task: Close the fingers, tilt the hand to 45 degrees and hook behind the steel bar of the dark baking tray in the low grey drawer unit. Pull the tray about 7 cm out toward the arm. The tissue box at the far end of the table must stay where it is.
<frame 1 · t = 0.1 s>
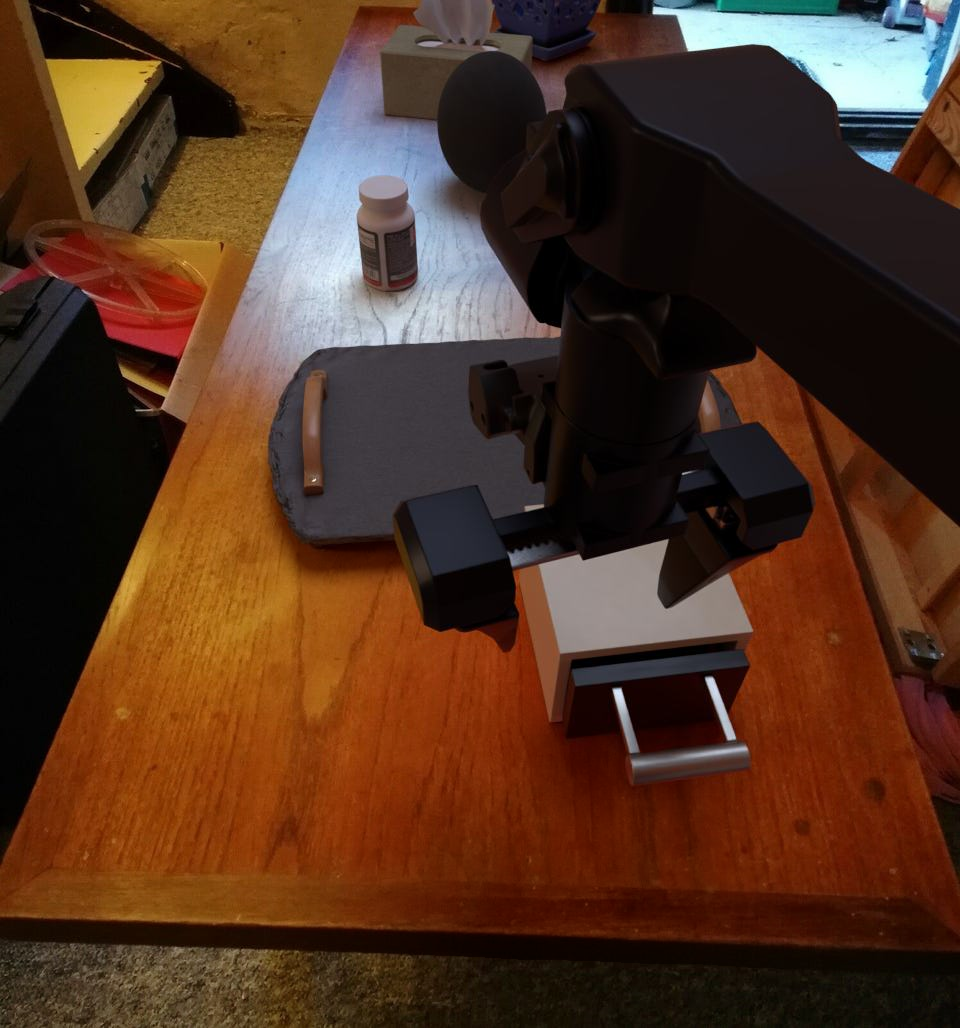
hand: (585, 622, 45), 12 cm above the table, tool pointing down, fingers open, 9 cm apart
flower pot: (543, 48, 132), on the table
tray: (644, 670, 53), point 4 cm above the table, slide at 0.5 cm
pill bottle: (390, 279, 89), on the table
bottle: (583, 231, 96), on the table
grey drawer unit: (615, 637, 59), on the table
tissue box: (458, 108, 117), on the table
serving tray: (506, 450, 72), on the table
decorative egg: (490, 190, 102), on the table
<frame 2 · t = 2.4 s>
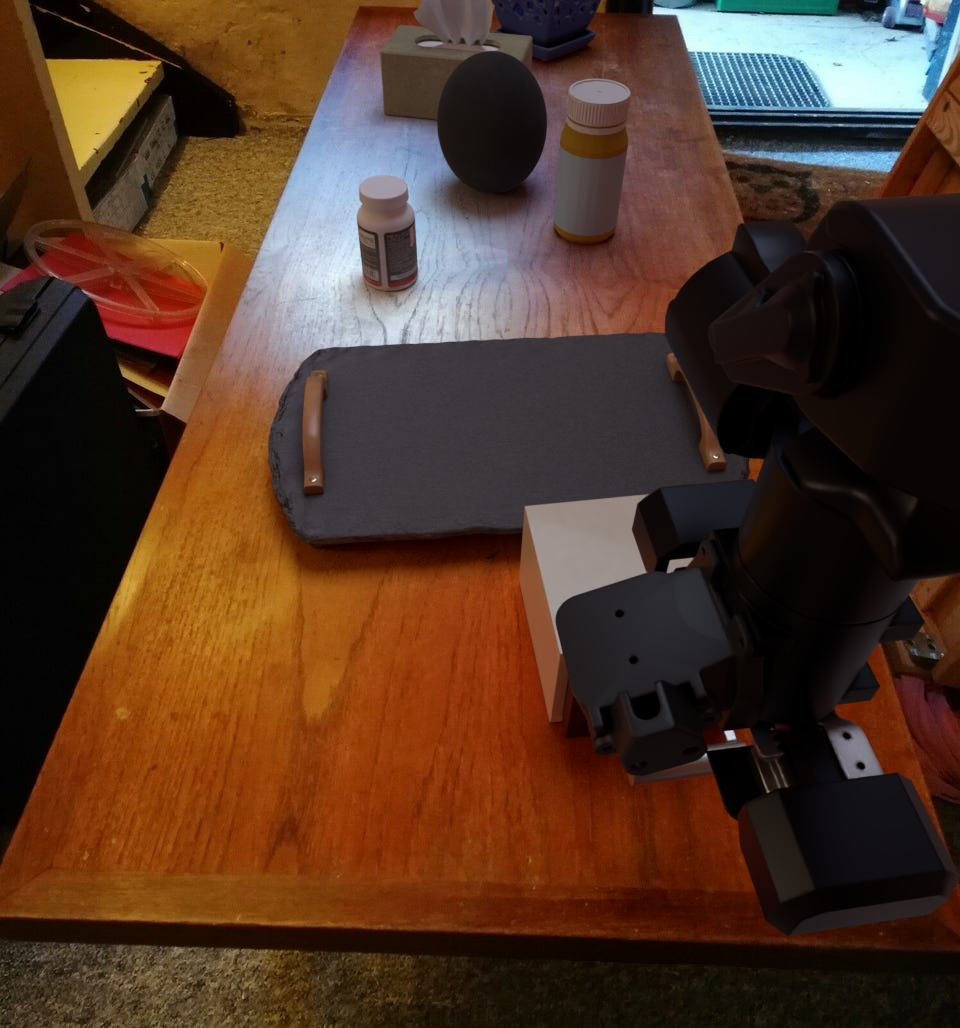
hand: (720, 764, 40), 12 cm above the table, tool pointing down, fingers open, 3 cm apart
nothing on the table moved.
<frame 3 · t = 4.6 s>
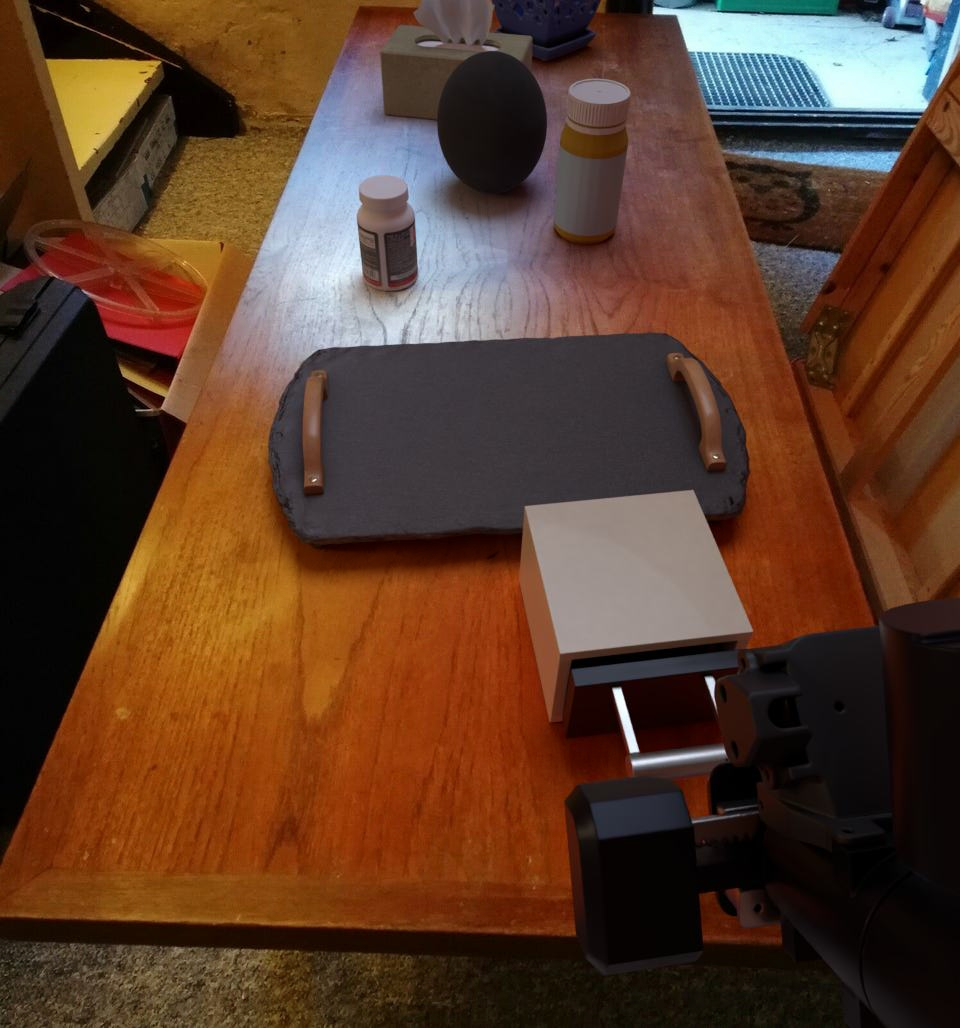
hand: (733, 767, 40), 13 cm above the table, tool tilted 45°, fingers closed
nothing on the table moved.
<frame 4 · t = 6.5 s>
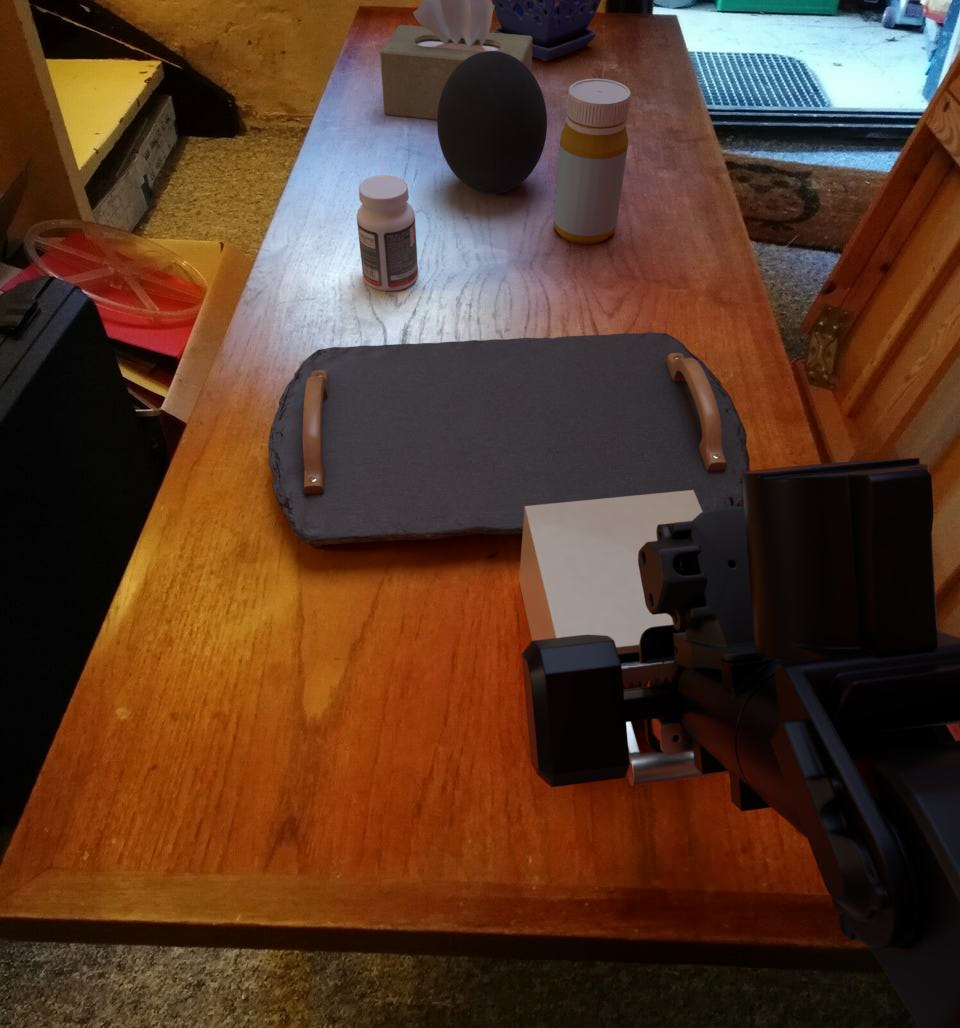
hand: (670, 652, 47), 10 cm above the table, tool tilted 45°, fingers closed
nothing on the table moved.
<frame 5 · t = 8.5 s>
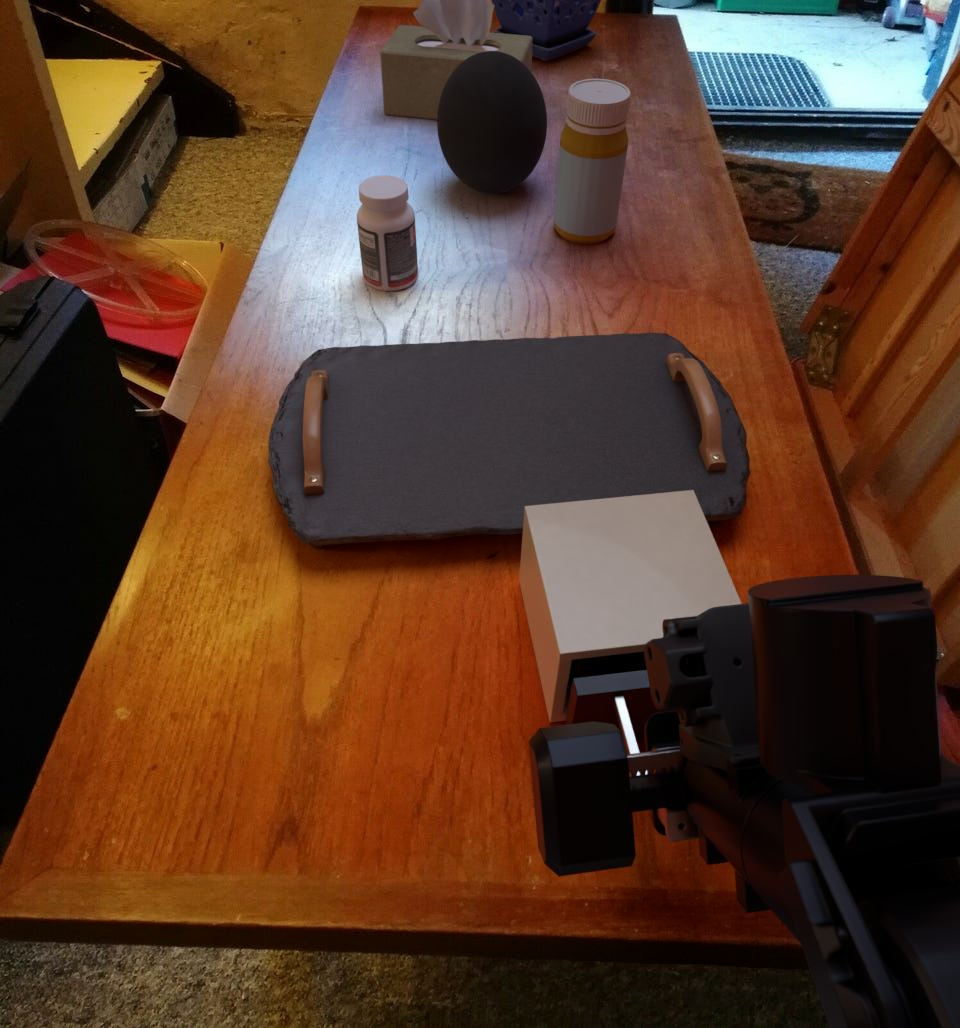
hand: (675, 724, 48), 7 cm above the table, tool tilted 45°, fingers closed
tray: (647, 678, 53), point 4 cm above the table, slide at 1.1 cm, touching gripper
everything else where it was.
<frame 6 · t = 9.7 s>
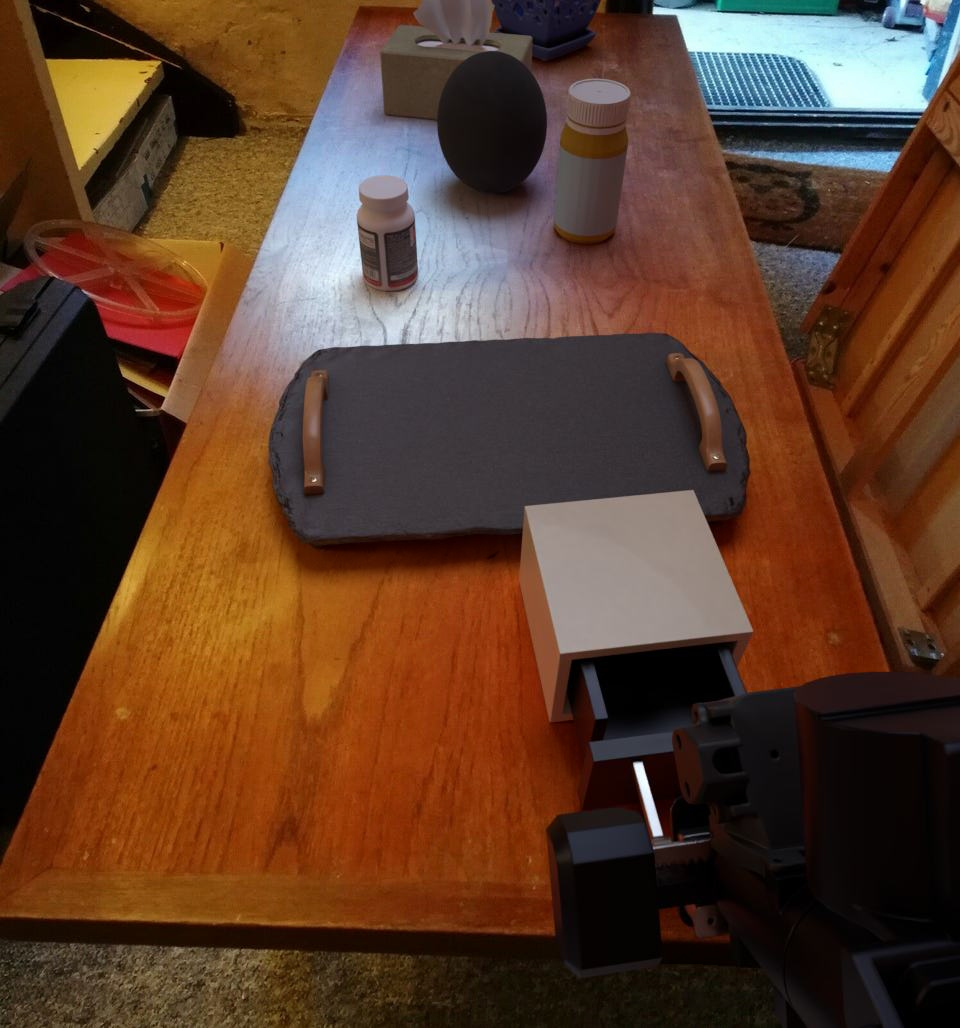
hand: (698, 794, 45), 7 cm above the table, tool tilted 45°, fingers closed
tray: (665, 737, 50), point 4 cm above the table, slide at 5.1 cm, touching gripper
everything else where it was.
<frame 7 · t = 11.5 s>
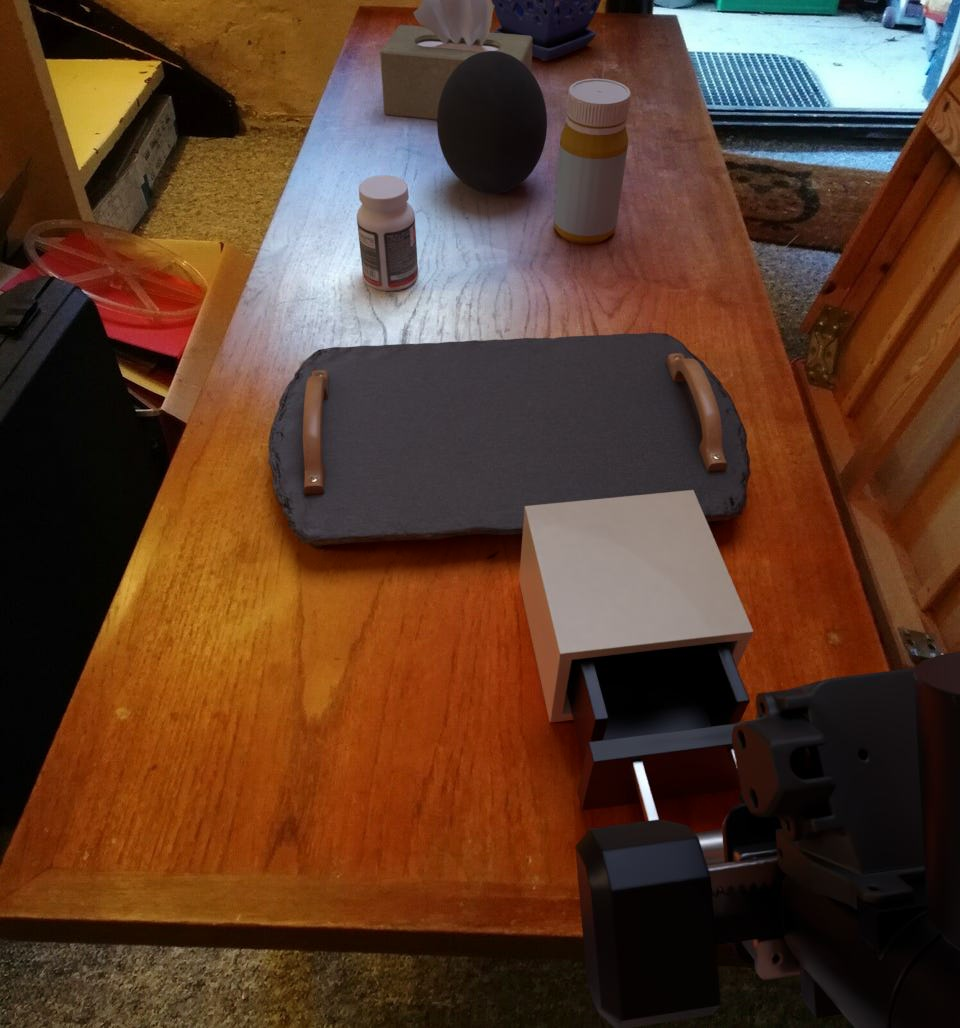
hand: (746, 803, 39), 12 cm above the table, tool tilted 45°, fingers closed
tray: (665, 737, 50), point 4 cm above the table, slide at 5.1 cm
everything else where it was.
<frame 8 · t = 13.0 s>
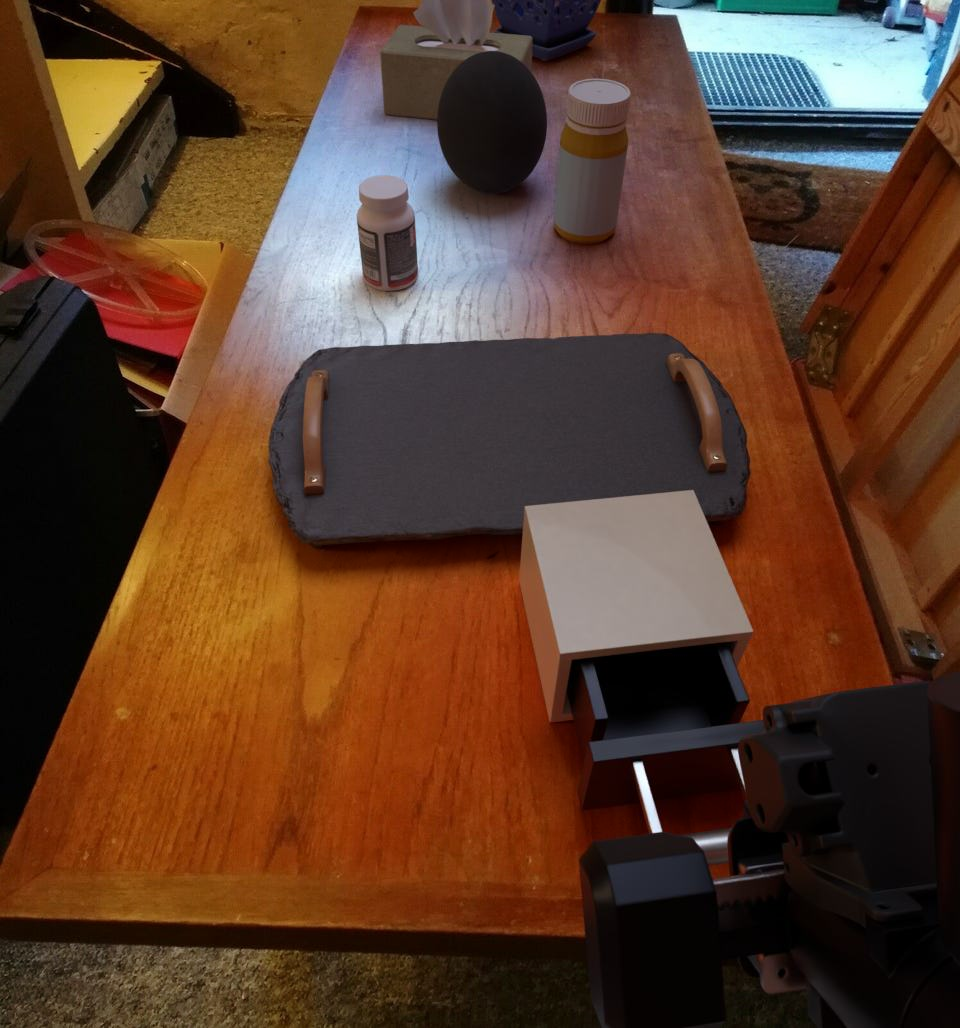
hand: (751, 811, 38), 13 cm above the table, tool tilted 45°, fingers closed
nothing on the table moved.
at the end: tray slide at 5.1 cm; tissue box moved 0.2 cm from its start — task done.
